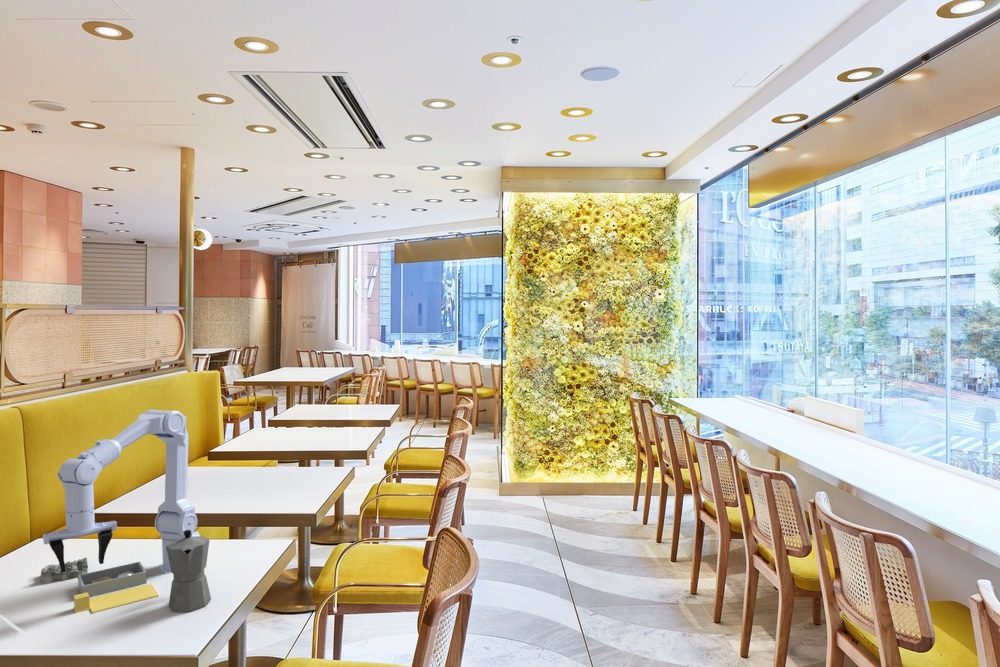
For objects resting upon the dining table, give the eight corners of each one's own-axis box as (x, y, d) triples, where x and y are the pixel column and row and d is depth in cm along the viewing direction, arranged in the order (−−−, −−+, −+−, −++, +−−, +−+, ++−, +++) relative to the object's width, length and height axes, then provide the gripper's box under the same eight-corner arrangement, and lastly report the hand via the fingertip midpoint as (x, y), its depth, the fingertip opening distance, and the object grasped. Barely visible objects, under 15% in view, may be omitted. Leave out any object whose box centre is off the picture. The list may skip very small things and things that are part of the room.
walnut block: (107, 584, 170) (107, 575, 170) (112, 587, 169) (112, 578, 168) (90, 589, 167) (90, 581, 167) (95, 592, 165) (95, 583, 165)
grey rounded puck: (132, 578, 174) (132, 569, 174) (135, 582, 171) (134, 573, 171) (116, 581, 172) (116, 573, 172) (119, 586, 169) (118, 577, 169)
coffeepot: (212, 611, 155) (209, 535, 154) (167, 620, 151) (164, 541, 150) (210, 587, 169) (208, 517, 168) (169, 594, 165) (166, 522, 164)
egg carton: (39, 588, 171) (38, 572, 170) (41, 578, 177) (41, 563, 177) (88, 578, 176) (87, 563, 176) (88, 569, 183) (88, 554, 182)
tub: (139, 574, 178) (139, 561, 178) (146, 585, 171) (146, 571, 170) (78, 588, 169) (77, 575, 169) (82, 600, 162) (82, 586, 162)
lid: (150, 587, 170) (150, 572, 169) (158, 599, 163) (158, 583, 162) (72, 607, 159) (71, 591, 159) (77, 620, 152) (76, 604, 152)
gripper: (112, 500, 163) (114, 554, 164) (40, 512, 154) (43, 569, 155) (117, 506, 158) (119, 562, 158) (43, 519, 149) (46, 579, 149)
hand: (82, 566), depth 156 cm, fingers open, 7 cm apart
